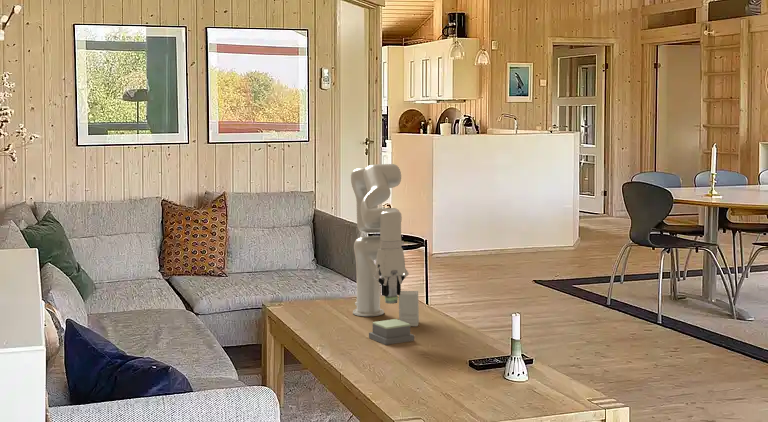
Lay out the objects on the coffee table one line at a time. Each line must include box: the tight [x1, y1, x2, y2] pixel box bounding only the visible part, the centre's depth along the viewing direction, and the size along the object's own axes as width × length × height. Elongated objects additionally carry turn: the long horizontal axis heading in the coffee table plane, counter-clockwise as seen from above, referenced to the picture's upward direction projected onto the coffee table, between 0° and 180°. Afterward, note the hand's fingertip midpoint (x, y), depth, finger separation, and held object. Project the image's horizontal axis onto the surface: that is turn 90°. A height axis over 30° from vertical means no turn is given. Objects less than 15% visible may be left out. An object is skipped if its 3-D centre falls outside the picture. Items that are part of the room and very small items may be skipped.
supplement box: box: [398, 290, 420, 327], centre depth 377 cm, size 7×7×13 cm
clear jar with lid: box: [384, 270, 399, 305], centre depth 352 cm, size 5×5×12 cm
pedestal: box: [368, 318, 415, 346], centre depth 354 cm, size 12×12×6 cm
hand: (391, 294), depth 352 cm, fingers closed on clear jar with lid, 4 cm apart
